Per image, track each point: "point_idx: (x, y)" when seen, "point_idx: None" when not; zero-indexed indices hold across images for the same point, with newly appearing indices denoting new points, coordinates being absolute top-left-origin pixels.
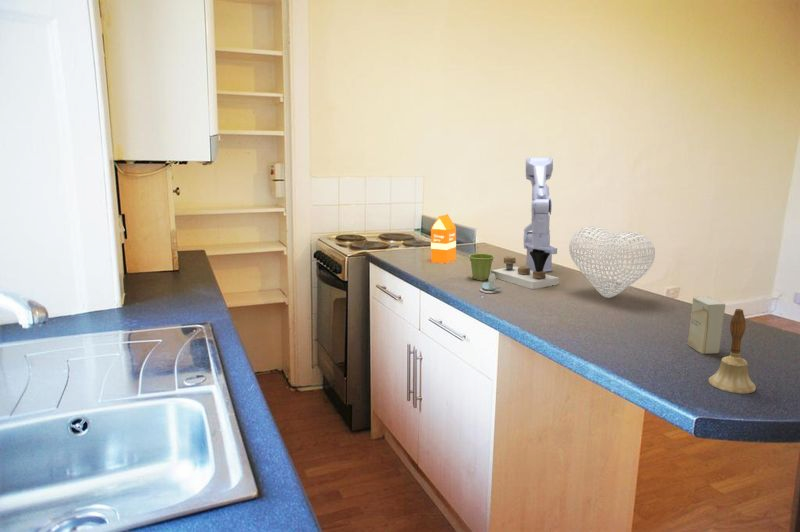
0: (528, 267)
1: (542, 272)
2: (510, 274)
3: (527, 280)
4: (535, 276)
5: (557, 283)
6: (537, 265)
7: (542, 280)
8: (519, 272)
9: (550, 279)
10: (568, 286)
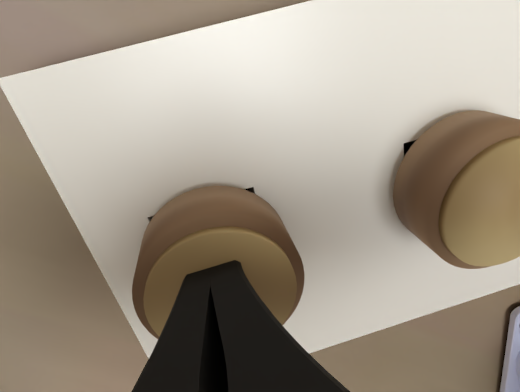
0: (472, 255)
1: (144, 311)
2: (515, 4)
3: (124, 52)
4: (179, 204)
5: None
6: (175, 336)
7: (81, 234)
8: (466, 117)
9: (130, 323)
10: (98, 386)
